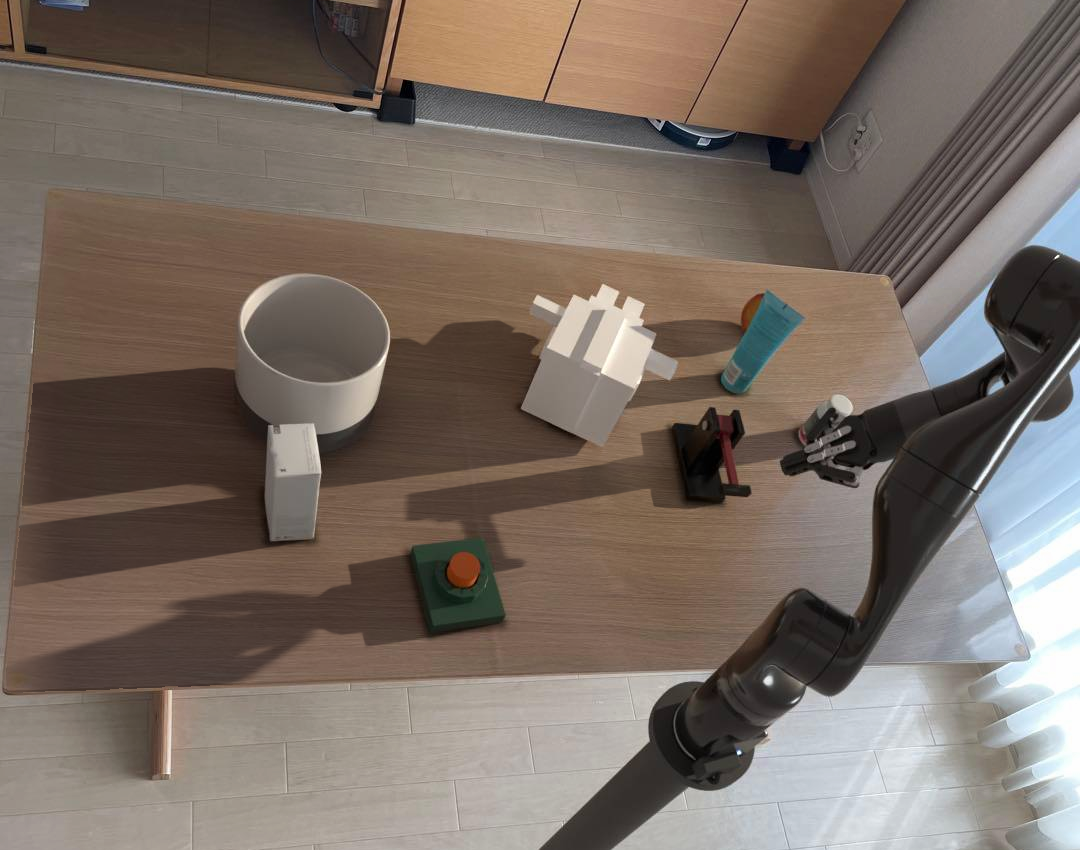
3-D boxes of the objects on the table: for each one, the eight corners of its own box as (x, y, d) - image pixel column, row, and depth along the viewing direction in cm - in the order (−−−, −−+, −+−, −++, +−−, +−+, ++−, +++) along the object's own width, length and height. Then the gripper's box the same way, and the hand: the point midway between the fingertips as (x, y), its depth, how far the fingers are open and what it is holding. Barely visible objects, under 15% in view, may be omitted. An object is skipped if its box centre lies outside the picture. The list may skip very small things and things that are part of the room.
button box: (502, 622, 134) (509, 608, 131) (429, 633, 130) (435, 619, 127) (479, 545, 139) (486, 530, 136) (409, 553, 136) (414, 538, 132)
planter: (355, 356, 152) (372, 271, 138) (385, 459, 143) (405, 380, 129) (223, 363, 144) (226, 274, 130) (245, 473, 135) (251, 390, 121)
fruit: (781, 336, 182) (802, 305, 175) (758, 356, 177) (779, 325, 171) (748, 309, 183) (767, 278, 177) (724, 328, 179) (744, 296, 172)
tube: (756, 387, 173) (811, 309, 157) (745, 402, 170) (800, 325, 154) (720, 363, 173) (771, 283, 158) (709, 378, 171) (759, 298, 155)
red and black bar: (746, 499, 147) (753, 491, 145) (718, 497, 146) (725, 489, 144) (730, 425, 153) (737, 416, 151) (703, 422, 152) (710, 413, 150)
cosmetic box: (313, 540, 133) (325, 477, 121) (266, 542, 130) (273, 478, 119) (306, 487, 137) (317, 421, 125) (261, 489, 135) (267, 422, 123)
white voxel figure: (671, 362, 173) (632, 469, 154) (540, 300, 172) (485, 400, 154) (707, 297, 162) (670, 404, 143) (567, 231, 161) (512, 330, 143)
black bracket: (721, 503, 156) (755, 459, 147) (686, 500, 154) (718, 456, 145) (704, 431, 163) (736, 385, 154) (671, 428, 162) (700, 381, 152)
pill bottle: (799, 448, 167) (828, 412, 159) (795, 423, 170) (824, 387, 163) (828, 455, 168) (859, 419, 161) (824, 430, 171) (854, 394, 164)
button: (479, 586, 132) (483, 576, 130) (450, 590, 130) (454, 580, 128) (471, 560, 133) (476, 550, 131) (443, 563, 132) (447, 553, 130)
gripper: (886, 372, 136) (764, 417, 142) (913, 451, 129) (783, 495, 135) (898, 401, 142) (780, 443, 148) (925, 478, 134) (799, 519, 141)
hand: (782, 468), depth 142 cm, fingers closed
